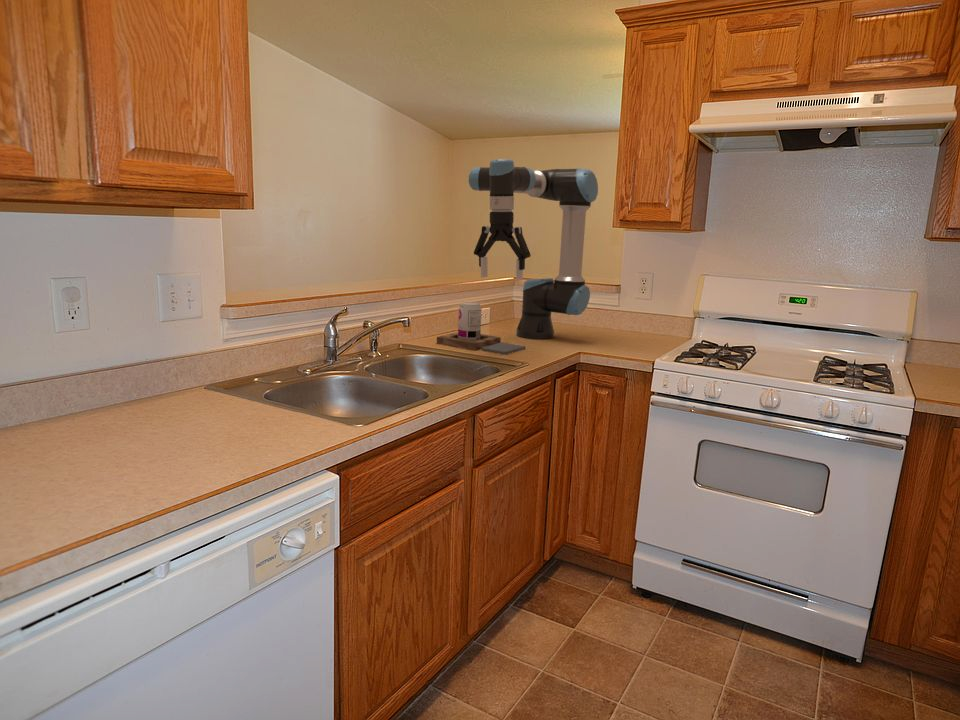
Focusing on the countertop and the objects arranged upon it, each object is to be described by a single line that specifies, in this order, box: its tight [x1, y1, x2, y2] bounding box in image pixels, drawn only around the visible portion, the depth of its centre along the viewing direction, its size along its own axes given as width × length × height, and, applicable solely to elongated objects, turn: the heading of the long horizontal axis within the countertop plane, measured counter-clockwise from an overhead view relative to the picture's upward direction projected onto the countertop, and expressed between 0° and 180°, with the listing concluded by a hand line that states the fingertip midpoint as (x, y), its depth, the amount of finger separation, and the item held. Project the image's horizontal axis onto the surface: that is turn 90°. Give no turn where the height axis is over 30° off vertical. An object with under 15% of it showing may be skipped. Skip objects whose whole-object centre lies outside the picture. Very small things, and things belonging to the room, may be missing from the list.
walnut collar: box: [436, 331, 501, 351], centre depth 233 cm, size 17×17×2 cm
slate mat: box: [480, 341, 526, 356], centre depth 225 cm, size 14×10×1 cm
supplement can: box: [457, 301, 483, 341], centre depth 231 cm, size 8×8×15 cm
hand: (501, 278), depth 203 cm, fingers open, 13 cm apart
